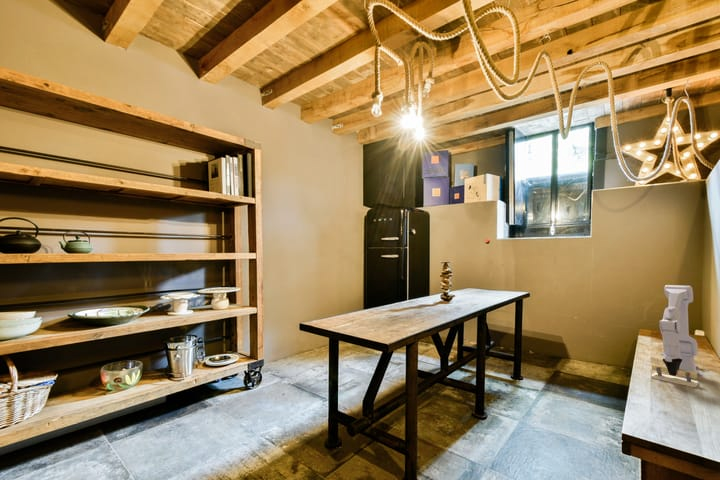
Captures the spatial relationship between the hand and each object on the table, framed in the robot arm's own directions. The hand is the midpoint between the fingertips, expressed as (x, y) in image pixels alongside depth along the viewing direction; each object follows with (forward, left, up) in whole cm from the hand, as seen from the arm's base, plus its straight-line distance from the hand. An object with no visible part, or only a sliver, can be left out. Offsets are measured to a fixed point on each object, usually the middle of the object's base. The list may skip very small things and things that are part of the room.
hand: (673, 374), depth 151 cm
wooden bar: (0, 0, 0) cm, 0 cm away
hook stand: (0, 0, -3) cm, 3 cm away
